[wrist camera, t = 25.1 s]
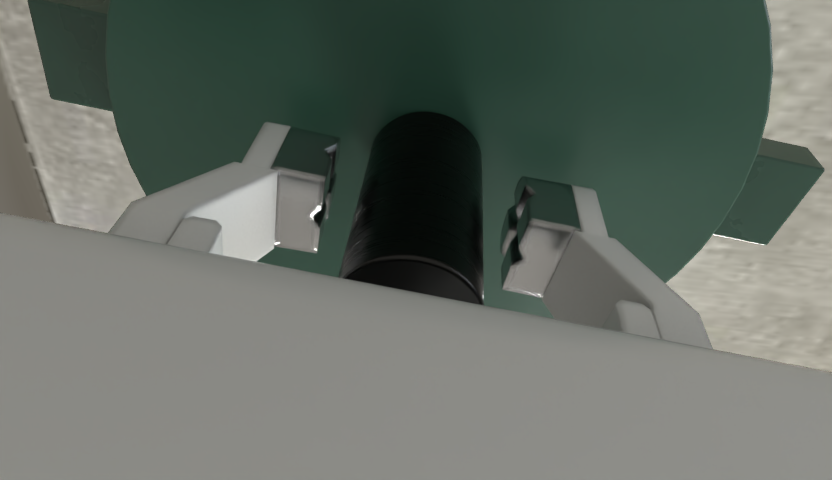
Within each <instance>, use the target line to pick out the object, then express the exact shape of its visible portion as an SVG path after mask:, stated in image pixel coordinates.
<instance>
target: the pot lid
mask: <svg viewBox="0 0 832 480" xmlns="http://www.w3.org/2000/svg"><path fill="white" fill-rule="evenodd" d="M105 60H106V70H107V80H108V91H109V98H110V102H111V106H112V110H113V114H114V118H115V123H116V127H117V131H118V134H119V137H120V139H121V142H122V145H123V147H124V150H125V152H126V155H127V158H128V160H129V163H130V166H131V168H132V169H133V171H134V173H135V175H136V177H137V179H138V181H139V183H140V185H141V187H142V188H143V190H144V192H145V194H146V196H148V195H151V194H153V193H156V192H158V191H161V190H163V189H166V188H169V187H171V186H174V185H176V184H179V183H181V182H184V181H186V180H189V179H191V178H194V177H197V176H199V175H202V174H204V173H207V172H209V171H212V170H214V169H217V168H219V167H222V166H224V165H227V164H230V163H232V162H238V163H241V162H242V161H243V159H244V157H245V155H246V154H247V152H248V150H249V148H250V146H251V145H252V143H253V141H254V139H255V138H256V136H257V134H258V132H259V131H260V129H261V127H262V125H263V124H264V123H265V122H272V123H277V124H283V125H288V126H291V127H296V128H300V129H304V130H309V131H313V132H318V133H322V134H326V135H331V136H335V137H340V138H341V144H340V154H339V159H338V162H337V165H336V168H335V172H336V174H337V179H336V186H335V192H334V197H333V201H332V206H331V210H330V213H329V217H328V218H327V219H325V226H324V233H323V236H322V239H321V242H320V245H319V248H318V251H317V253H311V252H306V251H300V250H294V249H288V248H282V247H276V246H274V249H273V250H271V251H270V252H269V253H267V254H266V255H264V256H263V257H262V258H260V259H259V260H257V261H256V262H261V263H266V264H271V265H276V266H282V267H287V268H292V269H297V270H302V271H308V272H313V273H318V274H323V275H328V276H334V277H339V278H344V279H349V280H354V281H360V282H365V283H370V284H375V285H381V286H386V287H391V288H396V289H401V290H407V291H412V292H417V293H422V294H427V295H433V296H438V297H443V298H448V299H453V300H459V301H464V302H469V303H474V304H480V305H485V306H490V307H495V308H500V309H506V310H511V311H516V312H521V313H527V314H532V315H537V316H542V317H547V318H553V319H555V318H554V317H553V315H552V314H551V313H550V311H549V310H548V308H547V307H546V305H545V304H544V303H543V301H542V298H539V297H534V296H530V295H525V294H521V293H516V292H512V291H507V290H503V289H502V278H501V265H502V263H503V260H504V256H503V255H502V254H501V252H500V237H501V231H502V227H503V222H504V219H505V216H506V213H507V210H508V209H509V208H511V207H512V206H514V205H515V197H514V192H515V189H516V186H517V184H518V182H519V180H520V178H521V176H525V177H530V178H536V179H541V180H547V181H552V182H558V183H564V184H569V185H575V186H581V187H587V188H593V189H594V190H595V191H596V194H597V197H598V201H599V205H600V208H601V212H602V215H603V219H604V222H605V226H606V230H607V233H608V237H610V238H614V239H616V240H617V241H619V242H620V243H621V244H622V245H623V246H624V247H625V248H626V249H628V250H629V251H630V252H631V253H632V254H633V255H634V256H635V257H636V258H638V259H639V260H640V261H641V262H642V263H643V264H644V265H645V266H646V267H648V268H649V269H650V270H651V271H652V272H653V273H654V274H655V275H656V276H658V277H659V278H660V279H661V280H662V281H663V282H664V283H666V282H667V281H669V280H670V279H671V278H672V277H674V276H675V275H676V274H677V273H678V272H679V271H680V270H681V269H682V268H683V267H684V266H685V265H686V264H687V263H688V262H689V261H690V260H691V259H692V258H693V257H694V256H695V255H696V254H697V253H698V252H699V251H700V250H701V249H702V248H703V246H704V245H705V244H706V243H707V241H708V240H709V239H710V237H711V236H712V235H713V234H714V232H715V231H716V230H717V228H718V227H719V226H720V225H721V223H722V222H723V221H724V219H725V217H726V216H727V214H728V212H729V211H730V209H731V207H732V206H733V204H734V202H735V200H736V199H737V197H738V195H739V194H740V192H741V190H742V189H743V186H744V184H745V182H746V179H747V177H748V175H749V172H750V170H751V168H752V165H753V163H754V161H755V158H756V156H757V153H758V150H759V146H760V143H761V139H762V135H763V131H764V127H765V124H766V120H767V116H768V111H769V102H770V93H771V83H772V74H773V61H772V41H771V24H770V20H769V15H768V10H767V6H766V1H765V0H110V2H109V7H108V12H107V28H106V48H105Z"/></svg>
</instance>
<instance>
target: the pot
mask: <svg viewBox="0 0 832 480" xmlns="http://www.w3.org/2000/svg"><path fill="white" fill-rule="evenodd" d="M109 2H110V0H28V5H29V9H30V13H31V17H32V22H33V26H34V30H35V34H36V38H37V43H38V47H39V51H40V55H41V59H42V64H43V68H44V72H45V76H46V81H47V85H48V89H49V93H50V97H51V98H52V99H55V100H60V101H64V102H69V103H74V104H79V105H84V106H89V107H94V108H99V109H103V110H108V111H113V110H112V106H111V102H110V98H109V91H108V80H107V70H106V60H105V48H106V28H107V12H108V7H109ZM823 172H824V168H823V167H822V165H821V164H820V163H819V162H818V160H817V159H816V158H815V157H814V156H813V154H812V153H811V152H810V151H809V149H808V148H806V147H801V146H797V145H792V144H787V143H783V142H778V141H774V140H769V139H764V138H762V139H761V143H760V146H759V150H758V153H757V156H756V158H755V161H754V163H753V165H752V168H751V170H750V172H749V175H748V177H747V179H746V182H745V184H744V186H743V189H742V190H741V192H740V194H739V195H738V197H737V199H736V200H735V202H734V204H733V206H732V207H731V209H730V211H729V212H728V214H727V216H726V217H725V219H724V221H723V222H722V223H721V225H720V226H719V227H718V228H717V230H716V231H715V232H714V234H713V235H717V236H722V237H727V238H731V239H736V240H741V241H746V242H751V243H756V244H761V245H767V244H768V243H769V241H770V240H771V239H772V238H773V236H774V235H775V234H776V232H777V231H778V230H779V229H780V227H781V226H782V225H783V223H784V222H785V221H786V220H787V218H788V217H789V216H790V214H791V213H792V212H793V211H794V209H795V208H796V207H797V205H798V204H799V203H800V202H801V200H802V199H803V198H804V196H805V195H806V194H807V193H808V191H809V190H810V189H811V187H812V186H813V185H814V184H815V182H816V181H817V180H818V178H819V177H820V176H821V175H822V173H823Z"/></svg>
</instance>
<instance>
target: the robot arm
mask: <svg viewBox="0 0 832 480" xmlns="http://www.w3.org/2000/svg"><path fill="white" fill-rule="evenodd" d="M340 144H341V138H340V137H335V136H331V135H326V134H322V133H318V132H313V131H309V130H304V129H300V128H296V127H291V126H288V125H283V124H277V123H272V122H265V123H264V124H263V125H262V127H261V129H260V131H259V132H258V134H257V136H256V138H255V139H254V141H253V143H252V145H251V146H250V148H249V150H248V152H247V154H246V155H245V157H244V159H243V161H242V162H241V163H238V162H232V163H230V164H227V165H224V166H222V167H219V168H217V169H214V170H212V171H209V172H207V173H204V174H202V175H199V176H197V177H194V178H191V179H189V180H186V181H184V182H181V183H179V184H176V185H174V186H171V187H169V188H166V189H163V190H161V191H158V192H156V193H153V194H151V195H148V196H146V197H143V198H141V199H138V200H136V201H133V202H131V203H130V205H129V206H128V207H127V209H126V210H125V211H124V213H123V214H122V215H121V216H120V218H119V219H118V220H117V222H116V223H115V224H114V226H113V227H112V228H111V230H110V231H109V232H108V233H104V232H99V231H94V230H89V229H84V228H78V227H73V226H68V225H63V224H57V223H52V222H46V221H41V220H36V219H31V218H26V217H21V216H16V215H11V214H5V213H0V480H832V372H828V371H823V370H818V369H813V368H808V367H802V366H797V365H792V364H787V363H782V362H777V361H771V360H766V359H761V358H756V357H751V356H745V355H740V354H735V353H730V352H725V351H719V350H714V349H713V348H712V346H711V343H710V340H709V338H708V335H707V333H706V330H705V328H704V325H703V322H702V320H701V317H700V315H699V313H698V312H697V311H695V310H694V309H693V308H692V307H691V306H690V305H689V304H688V303H687V302H685V301H684V300H683V299H682V298H681V297H680V296H679V295H678V294H677V293H675V292H674V291H673V290H672V289H671V288H670V287H669V286H668V285H666V284H665V283H664V282H663V281H662V280H661V279H660V278H659V277H658V276H656V275H655V274H654V273H653V272H652V271H651V270H650V269H649V268H648V267H646V266H645V265H644V264H643V263H642V262H641V261H640V260H639V259H638V258H636V257H635V256H634V255H633V254H632V253H631V252H630V251H629V250H628V249H626V248H625V247H624V246H623V245H622V244H621V243H620V242H619V241H617V240H616V239H614V238H610V237H608V233H607V230H606V226H605V222H604V219H603V215H602V212H601V208H600V205H599V201H598V197H597V194H596V191H595V190H594V189H593V188H587V187H581V186H575V185H569V184H564V183H558V182H552V181H547V180H541V179H536V178H530V177H525V176H521V178H520V180H519V182H518V184H517V186H516V189H515V192H514V197H515V205H514V206H512V207H511V208H509V209H508V210H507V213H506V216H505V219H504V222H503V227H502V231H501V237H500V252H501V254H502V255H503V256H504V260H503V263H502V265H501V278H502V289H503V290H507V291H512V292H516V293H521V294H525V295H530V296H534V297H539V298H542V301H543V303H544V304H545V305H546V307H547V308H548V310H549V311H550V313H551V314H552V315H553V317H554V318H555V319H553V318H547V317H542V316H537V315H532V314H527V313H521V312H516V311H511V310H506V309H500V308H495V307H490V306H485V305H480V304H474V303H469V302H464V301H459V300H453V299H448V298H443V297H438V296H433V295H427V294H422V293H417V292H412V291H407V290H401V289H396V288H391V287H386V286H381V285H375V284H370V283H365V282H360V281H354V280H349V279H344V278H339V277H334V276H328V275H323V274H318V273H313V272H308V271H302V270H297V269H292V268H287V267H282V266H276V265H271V264H266V263H261V262H256V261H257V260H259V259H260V258H262V257H263V256H264V255H266V254H267V253H269V252H270V251H271V250H273V249H274V246H276V247H282V248H288V249H294V250H300V251H306V252H311V253H317V251H318V248H319V245H320V242H321V239H322V236H323V233H324V226H325V219H327V218H328V217H329V213H330V210H331V206H332V201H333V197H334V192H335V186H336V179H337V174H336V172H335V168H336V165H337V162H338V159H339V154H340Z"/></svg>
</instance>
